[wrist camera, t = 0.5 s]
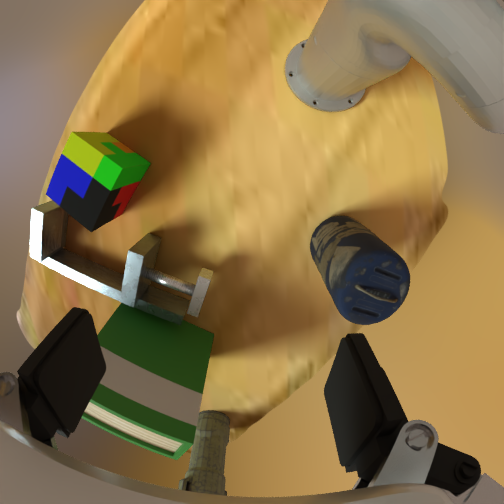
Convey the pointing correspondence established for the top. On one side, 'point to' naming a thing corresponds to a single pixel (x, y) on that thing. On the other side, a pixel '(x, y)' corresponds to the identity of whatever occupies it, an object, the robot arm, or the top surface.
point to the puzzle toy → (95, 178)
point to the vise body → (91, 265)
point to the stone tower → (208, 455)
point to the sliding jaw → (158, 276)
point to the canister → (359, 270)
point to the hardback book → (151, 381)
